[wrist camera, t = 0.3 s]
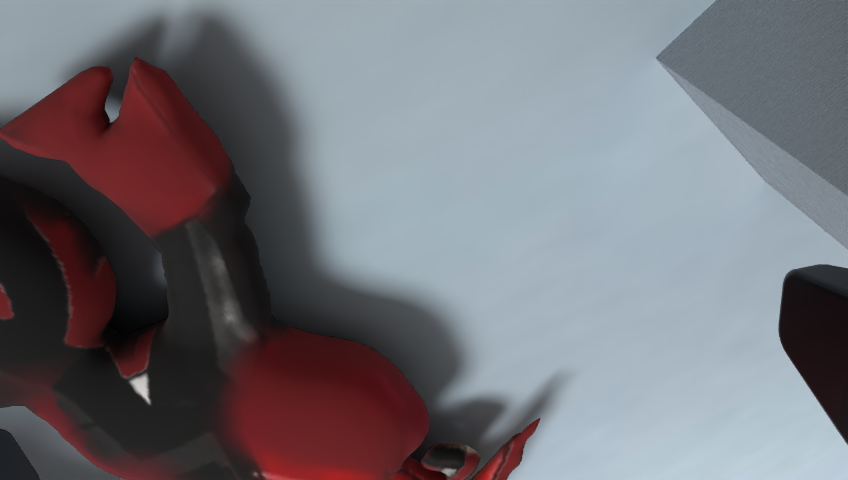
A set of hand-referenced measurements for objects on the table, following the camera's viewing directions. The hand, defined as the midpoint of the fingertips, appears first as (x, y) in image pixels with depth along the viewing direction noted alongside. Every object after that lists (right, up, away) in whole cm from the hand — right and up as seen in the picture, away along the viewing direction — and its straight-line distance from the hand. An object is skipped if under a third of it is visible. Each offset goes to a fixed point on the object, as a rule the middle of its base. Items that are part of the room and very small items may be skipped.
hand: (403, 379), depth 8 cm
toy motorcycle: (-6, -3, +18) cm, 19 cm away
